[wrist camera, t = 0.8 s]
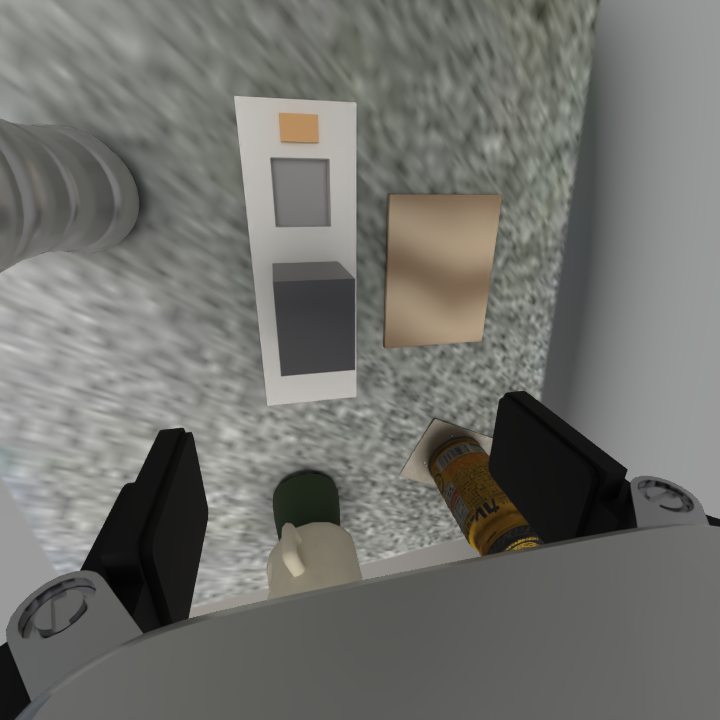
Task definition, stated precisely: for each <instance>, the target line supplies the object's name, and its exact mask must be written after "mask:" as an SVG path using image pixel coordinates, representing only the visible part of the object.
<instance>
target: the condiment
mask: <svg viewBox="0 0 720 720" xmlns="http://www.w3.org/2000/svg"><path fill="white" fill-rule="evenodd" d="M452 435H453V437H451V436H452ZM492 440H493V438H490V437H487V436H484V435H481V434H479V433H476V432H473V431H470V430H467V429H463V428H460V427H458V426H455V425H452V424H449V423H446V422H442V421H440V420H437V419H434V421H433V422H432V424H431V425H430V426H429V428H428V430H427V431H426V433H425V434H424V436H423V438H422V439H421V440H420V442H419V444H418V445H417V447H416V449H415V450H414V451H413V453H412V455H411V457H410V459H409V461H408V462H407V463H406V465H405V467H404V469H403V471H402V472H401V474H400V476H401V477H405V478H408V479H412V480H415V481H420V482H423V483H427V484H432V485H436V486H437V487H438V489H439V491H440V493H441V495H442V497H443V498H444V499H445V502H446V504H447V506H448V508H449V509H450V510H451V512H452V515H453V517H454V518H455V519H456V521H457V523H458V525H459V527H460V529H461V531H462V532H463V534H464V535H465V538H466V539H467V541H468V543H469V544H470V545H471V546H472V547H473V548H474V549H475V550H476V551H478V552H479V553H480V555H481V556H486V555H491V554H496V553H501V552H506V551H512V550H517V549H522V548H527V547H532V546H538V545H543V544H544V543H543V542H542V540H541V539H540V538H539V536H538V535H537V534H536V533H535V531H534V530H533V529H532V527H531V526H530V525H529V524H528V522H527V521H526V520H525V519H524V517H523V516H522V515H521V513H520V512H519V511H518V510H517V508H516V507H515V506H514V505H513V503H512V502H511V501H510V499H509V498H508V497H507V496H506V494H505V493H504V492H503V491H502V489H501V488H500V487H499V485H498V484H497V483H496V482H495V480H494V479H493V478H492V476H491V475H490V473H489V469H488V463H489V458H490V456H489V455H490V452H491V446H492ZM424 462H426V464H424ZM426 465H427V467H426Z"/></svg>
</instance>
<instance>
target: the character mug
mask: <svg viewBox="0 0 720 720" xmlns="http://www.w3.org/2000/svg"><path fill="white" fill-rule="evenodd" d="M273 511H274V518H275V524H276V529H277V534H278V538H279V542H278V543H277V545H276V546H275V547H274V549H273V550H272V551H271V553H270V555H269V559H268V564H267V574H268V581H269V594H268V600H270V599H274V598H279V597H283V596H288V595H293V594H298V593H302V592H307V591H312V590H317V589H322V588H327V587H332V586H337V585H341V584H346V583H351V582H356V581H361V580H362V575H361V571H360V567H359V563H358V558H357V554H356V550H355V546H354V541H353V539H352V536H351V535H350V534H349V533H348V532H347V531H346V530H345V529H344V528H343V527H341V526H340V509H339V497H338V490H337V488H336V486H335V484H334V482H333V481H332V480H331V479H329V478H327V477H325V476H323V475H318V474H305V475H301V476H296V477H293V478H291V479H289V480H287V481H285V482H283V483H281V484H280V485H279V487H278V488H277V490H276V491H275V493H274V494H273Z"/></svg>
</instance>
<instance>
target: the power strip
mask: <svg viewBox="0 0 720 720" xmlns="http://www.w3.org/2000/svg"><path fill="white" fill-rule="evenodd" d="M234 99H235V109H236V118H237V127H238V136H239V146H240V155H241V164H242V174H243V183H244V192H245V201H246V211H247V220H248V229H249V239H250V248H251V257H252V266H253V276H254V285H255V294H256V304H257V313H258V322H259V331H260V341H261V350H262V359H263V369H264V378H265V387H266V396H267V406H270V405H280V404H290V403H300V402H310V401H319V400H329V399H339V398H349V397H356V102H337V101H318V100H300V99H281V98H262V97H243V96H234ZM334 261H338V262H339V263H340V264H341V265H342V266H343V267H344V268H345V269H346V270H347V271H348V272H349V273H350V274H351V275H352V276H353V277H354V278H355V370H349V371H337V372H326V373H315V374H303V375H292V376H281V370H280V359H279V348H278V336H277V325H276V314H275V302H274V291H273V269H272V263H300V262H334Z"/></svg>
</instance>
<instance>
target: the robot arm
mask: <svg viewBox="0 0 720 720" xmlns="http://www.w3.org/2000/svg"><path fill="white" fill-rule="evenodd" d="M488 469H489V473H490V475H491V476H492V478H493V479H494V480H495V482H496V483H497V484H498V485H499V487H500V488H501V489H502V491H503V492H504V493H505V494H506V496H507V497H508V498H509V499H510V501H511V502H512V503H513V505H514V506H515V507H516V508H517V510H518V511H519V512H520V513H521V515H522V516H523V517H524V519H525V520H526V521H527V522H528V524H529V525H530V526H531V527H532V529H533V530H534V531H535V533H536V534H537V535H538V536H539V538H540V539H541V540H542V542H543V543H544V544H543V545H538V546H532V547H527V548H522V549H517V550H512V551H506V552H501V553H496V554H491V555H486V556H481V557H476V558H471V559H466V560H461V561H456V562H450V563H445V564H441V565H435V566H431V567H426V568H420V569H415V570H410V571H405V572H400V573H396V574H391V575H385V576H381V577H376V578H371V579H366V580H361V581H356V582H351V583H346V584H341V585H337V586H332V587H327V588H322V589H317V590H312V591H307V592H302V593H298V594H293V595H288V596H283V597H279V598H274V599H270V600H265V601H261V602H256V603H252V604H248V605H243V606H238V607H234V608H230V609H225V610H220V611H216V612H213V613H209V614H205V615H201V616H197V617H193V618H189V613H190V608H191V603H192V598H193V593H194V587H195V582H196V577H197V572H198V567H199V562H200V557H201V552H202V547H203V542H204V537H205V532H206V527H207V521H208V505H207V500H206V496H205V491H204V486H203V481H202V476H201V471H200V466H199V461H198V457H197V452H196V447H195V442H194V437H193V434H192V432H187V433H186V432H185V430H184V428H175V429H166V430H160V431H159V433H158V435H157V437H156V439H155V441H154V443H153V445H152V448H151V450H150V452H149V454H148V456H147V458H146V460H145V462H144V464H143V466H142V469H141V471H140V473H139V475H138V477H137V479H136V481H135V482H133V483H127V484H126V485H124V487H123V488H122V490H121V492H120V494H119V495H118V497H117V499H116V501H115V503H114V505H113V507H112V509H111V511H110V513H109V515H108V517H107V519H106V521H105V523H104V525H103V527H102V529H101V531H100V533H99V535H98V537H97V538H96V540H95V542H94V544H93V546H92V548H91V550H90V552H89V554H88V556H87V558H86V560H85V562H84V564H83V566H82V568H81V570H80V571H75V572H71V573H68V574H65V575H62V576H59V577H57V578H55V579H53V580H51V581H49V582H47V583H46V584H44V585H43V586H41V587H40V588H38V589H37V590H36V591H34V592H33V593H32V594H30V595H29V597H28V598H26V599H25V600H24V601H23V602H22V603H21V604H20V605H19V607H18V608H17V609H16V611H15V612H14V614H13V615H12V617H11V618H10V621H9V624H8V626H7V629H6V636H7V642H6V643H4V644H3V645H2V646H0V720H720V519H718V518H714V517H711V516H708V515H705V513H704V510H703V507H702V505H701V504H700V502H699V501H698V499H697V498H696V497H695V496H694V495H693V494H691V493H690V492H689V491H687V490H686V489H684V488H683V487H681V486H679V485H677V484H675V483H673V482H670V481H668V480H665V479H661V478H658V477H652V476H639V477H635V478H634V479H633V480H632V481H631V483H630V482H628V481H627V480H626V479H625V476H626V473H627V469H626V468H625V467H624V466H622V465H621V464H620V463H618V462H617V461H616V460H614V459H613V458H612V457H610V456H609V455H608V454H607V453H605V452H604V451H603V450H601V449H600V448H599V447H598V446H596V445H595V444H593V443H592V442H591V441H590V440H588V439H587V438H586V437H585V436H583V435H582V434H581V433H579V432H578V431H577V430H575V429H574V428H573V427H571V426H570V425H569V424H568V423H566V422H565V421H564V420H562V419H561V418H560V417H558V416H557V415H556V414H554V413H553V412H552V411H550V410H549V409H548V408H547V407H545V406H544V405H543V404H541V403H540V402H539V401H538V400H536V399H535V398H534V397H532V396H531V395H530V394H528V393H527V392H525V391H517V392H508V393H506V394H505V395H504V396H503V398H501V399H500V400H499V405H498V411H497V416H496V422H495V428H494V434H493V440H492V446H491V452H490V458H489V463H488ZM188 618H189V619H188Z"/></svg>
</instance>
